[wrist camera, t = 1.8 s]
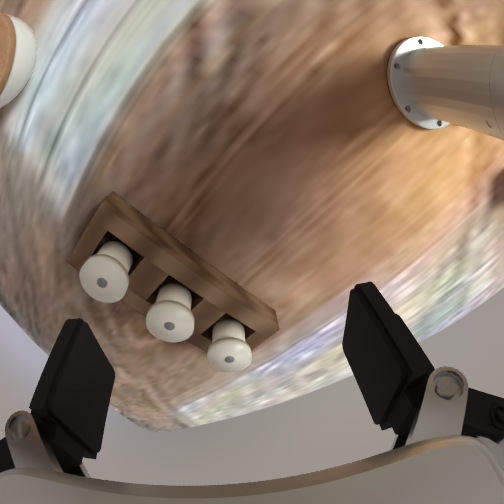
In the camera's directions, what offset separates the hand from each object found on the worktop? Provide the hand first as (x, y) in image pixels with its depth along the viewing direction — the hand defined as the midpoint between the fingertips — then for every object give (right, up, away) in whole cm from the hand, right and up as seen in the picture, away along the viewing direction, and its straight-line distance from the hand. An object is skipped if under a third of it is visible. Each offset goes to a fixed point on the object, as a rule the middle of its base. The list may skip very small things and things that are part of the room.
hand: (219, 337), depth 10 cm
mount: (-9, -1, +30) cm, 31 cm away
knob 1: (-15, +2, +23) cm, 28 cm away
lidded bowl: (-29, +27, +12) cm, 41 cm away
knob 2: (-9, -3, +27) cm, 29 cm away
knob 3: (-2, -8, +31) cm, 32 cm away
